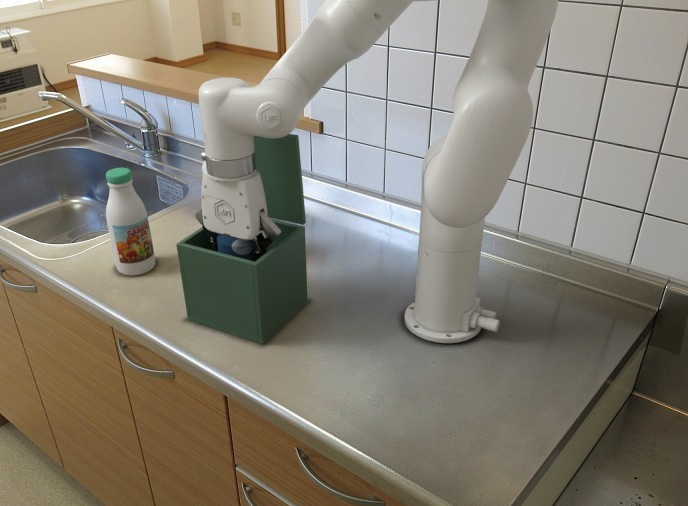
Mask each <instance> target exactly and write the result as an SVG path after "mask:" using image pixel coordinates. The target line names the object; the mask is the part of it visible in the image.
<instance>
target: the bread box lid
mask: <svg viewBox="0 0 688 506" xmlns="http://www.w3.org/2000/svg"><path fill="white" fill-rule="evenodd" d="M254 147H255V160H256V171H258V172H259V173H260V176H261V180H262V183H263V188H264V192H265V198H266V205H267V213H268V217H269V218H270V219H273V220H278V221H282V222H287V223H291V224H296V225H300V226H304V225H306V224H307V217H306V207H305V206H306V205H305V195H304V184H303V174H302V173H303V172H302V171H303V170H302V162H301V161H302V159H301V149H300V137H299V134H294V133H290V134H288V135H287V136H285V137H281V138H264V137H259V136H254Z"/></svg>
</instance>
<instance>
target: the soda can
mask: <svg viewBox="0 0 688 506" xmlns="http://www.w3.org/2000/svg"><path fill="white" fill-rule="evenodd" d="M256 238H257V240H258V242H259V243H260V240H259V238H258V236H256ZM217 245H218V252H219V253H223V254H227V255H231V256H235V257H239V258H242V259H246V260H250V261H252V256H251V254H252V252H253V251H254V249H253V247H252V245H251V243H250V241H249V240H243V239H239V238H235V237H232V236H230V235H229V234H226V233H224V234H219V233H218V235H217Z"/></svg>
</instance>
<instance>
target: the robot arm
mask: <svg viewBox="0 0 688 506" xmlns="http://www.w3.org/2000/svg"><path fill="white" fill-rule="evenodd" d="M432 1H433V2H434V1H435V2H436V0H324V1H323V3H322V4H321V5H320V7H318V9H317V10H316V12H315V13H314V15H313V17H312V18H311V20H310V22H308V23H309V24H307V26H306V27H305V28H304V30H303V31H302V32H301V33H300V35H299V36H298V37H297V38H296V39H295V41H294V42H293V43H292V44H291V45H290V47H289V48H288V49H286V51H285V52H284V54H283V55H282V56H281V57H280V58H279V60H278V61H277V62H276V63H275V64H274V65H273V67H272V68H271V69H270V70H269V71H268V72H267V74H265V76H264V77H263V79H262V80H261V81H260V82H259V83H258V84H256V85H255V86H251V87H250V86H249V84H248V83H247V82H246V81H245V80H243V79H241V78H238V77H216V78H213V79H209V80H207V81H205V82H202V84H201V85H200V86H199V89H198V93H197V94H198V104H199V113H200V121H201V123H200V124H201V129H202V138H203V139H202V140H203V145H204V147H203V148H204V150H203V151H202V152H201V155H200V158H201V160H203V161H204V160H205V161H206V166H207V169H206V170H205V171H204V172H203V171H202V180H201V209H199V210H198V211H197V212H196V213H195V214H194V217H195V218H196V220H197V221H198V222H199V224H200V225H201V227H202V228H203V229H204V231H205V232H206V233H207V234H208V235H209V237H208V238H209V240H210V241H211V242H212V243H213V251H216V252H218V245H217V235H218V233H219V234H224V233H226V234H229V235H230V236H232V237H235V238H239V239H243V240H249V241H250V243H251V245H252V247H253V249H254V251H253V252H252V254H251V256H252V261H254V262H255V261H257V260H258V259H259V258H260V257H262V256H263V255H264V254H265V253H267V251H266V248H267V247H268V246H269V245H270V244H271V243H273V242H274V241H275V239H276V238H277V237H278V236H279V235H280V234H281V230H280V229H279V228H278V227H277V226H276V224H275V223H274V222H273V221H272V220H271V219H272V218H270V217H268V213H267V205H266V198H265V192H264V188H263V183H262V180H261V176H260V173H259V172H258V171H256V160H255V147H254V136H259V137H264V138H281V137H285V136H287V135H288V134H292V132H294V130H295V129H296V128H297V126H298V124H299V122H300V120H301V117H302V115H303V112H304V110H305V108H306V106H307V105H308V104H309V103H310V102H311V101H312V99H313V98H314V97H315V96H316V95H317V94H318V93H319V92H320V91H321V90H322V88H323V87H324V86H325V85H326V84H327V83H328V82H329V81H330V80H331V78H332V77H334V75H336V73H337V72H339V71H340V70H341V69H342V68H343V67H344V66H346V64H347V65H348V63H350V62H352V61H354V60H357V59H359V58H361V57H362V56H363V55H364V54H366V53H367V52H368V51H370V49H371V48H372V47H373V46H374V45H375V44H376V42H377V41H379V39H380V38H381V37H382V36H383V35H384V34H385V32H386V31H388V29H389V28H390V27H391V26H392V25H393V24H394V23H395V22H396V20H397V19H399V17H400V16H402V14H403V13H404V12H405V11H406V10H407V9H408V8H409V7H410V5H412V3H413V2H432ZM558 4H559V0H487V5H486V10H485V14H484V17H483V19H482V22H481V24H480V28H479V31H478V34H477V36H476V39H475V42H474V45H473V47H472V49H471V52H470V54H469V57H468V59H467V61H466V63H465V66H464V68H463V70H462V73H461V75H460V78H459V79H458V82H457V83H456V86H455V87H454V91H453V95H452V112H453V119H452V121H451V125H450V127H449V130H448V133H445V134H443V135H442V136H440V137H438V138H437V139H435V141H434V142H433V143H432V144H431V145H430V146H429V148H427V151H426V153H425V155H424V158H423V161H422V167H421V191H420V192H421V194H420V195H421V196H420V219H419V233H418V234H419V235H418V248H417V263H416V281H415V296H414V302H412V303H410V304H409V305H407V308H406V309H405V310H404V319H403V320H404V325H405V326H406V328H407V329H408V330H409V331H410V332H411V333H412V334H414V335H415V336H416V337H419V338H421V339H423V340H426V341H428V342H433V343H439V344H457V343H461V342H462V343H463V342H466V341H468V340H471V339H472V338H474V337H476V336H477V335H479V333H480V332H481V330H482V329H484V330H487V331H491V332H495V333H497V332H498V330H499V327H500V324H501V323H500V321H501V320H499V319H497V318H496V317H497V312H496V311H492V310H487V309H483V307H481V298H480V297H476V295H477V286H478V280H479V270H480V261H481V253H482V247H483V245H482V244H483V238H484V230H485V221H486V217H487V216H489V214H490V213H491V211H492V210H493V209H494V207H495V206H496V204H497V203H498V201H499V199H500V197H501V195H502V192H503V190H504V188H505V187H506V184H507V182H508V181H509V178H510V177H511V174H512V172H513V170H514V168H515V166H516V164H517V161H518V159H519V157H520V156H521V153H522V152H523V149H524V147H525V144H526V142H527V140H528V138H529V135H530V133H531V129H532V124H533V120H534V104H533V99H532V96H531V94H530V92H529V90H528V89H529V85H530V82H531V79H532V76H533V74H534V72H535V69H536V67H537V65H538V63H539V60H540V58H541V55H542V53H543V50H544V48H545V45H546V43H547V40H548V38H549V35H550V32H551V30H552V28H553V24H554V21H555V19H556V14H557V9H558V6H559V5H558ZM263 230H266V231H267V232H268V235H267V237H266V235H265V233H264V231H263ZM256 236H258V238H259V240H260V243H259V242H258V240H257V238H256Z"/></svg>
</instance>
